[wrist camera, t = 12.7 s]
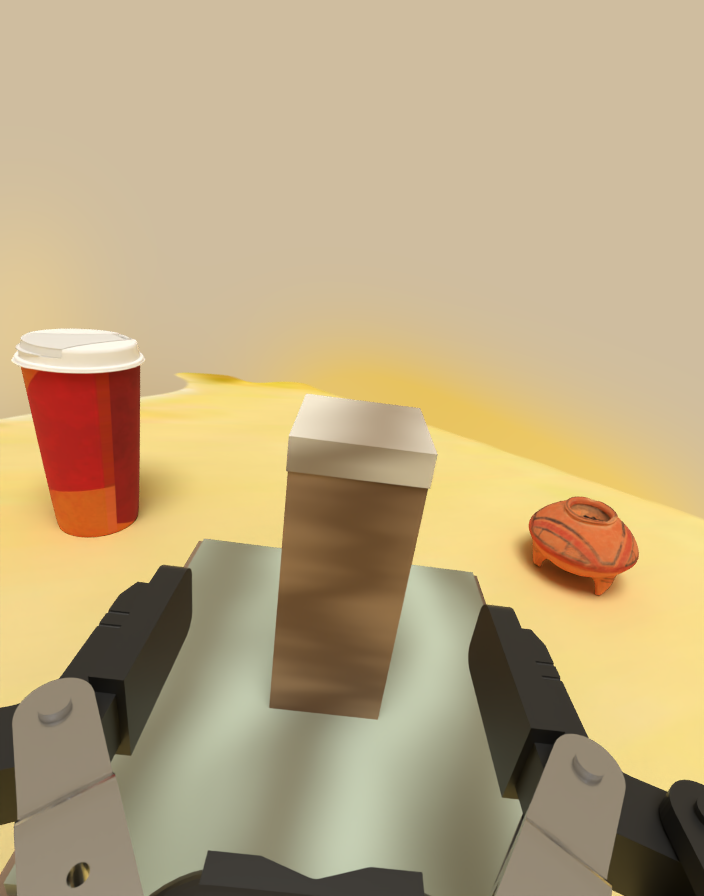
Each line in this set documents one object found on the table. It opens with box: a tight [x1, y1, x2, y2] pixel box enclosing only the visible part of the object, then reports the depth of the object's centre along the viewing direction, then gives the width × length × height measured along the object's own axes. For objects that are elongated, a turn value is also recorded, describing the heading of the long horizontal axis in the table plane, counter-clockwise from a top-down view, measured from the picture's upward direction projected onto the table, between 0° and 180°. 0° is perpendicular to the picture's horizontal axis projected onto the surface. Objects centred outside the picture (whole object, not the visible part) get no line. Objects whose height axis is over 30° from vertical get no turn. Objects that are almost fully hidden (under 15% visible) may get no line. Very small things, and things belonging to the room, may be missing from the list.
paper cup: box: [11, 329, 145, 537], centre depth 33 cm, size 8×8×14 cm
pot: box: [529, 497, 639, 595], centre depth 36 cm, size 8×8×7 cm
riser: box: [0, 539, 523, 896], centre depth 22 cm, size 18×18×4 cm
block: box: [269, 394, 437, 720], centre depth 18 cm, size 5×5×12 cm
